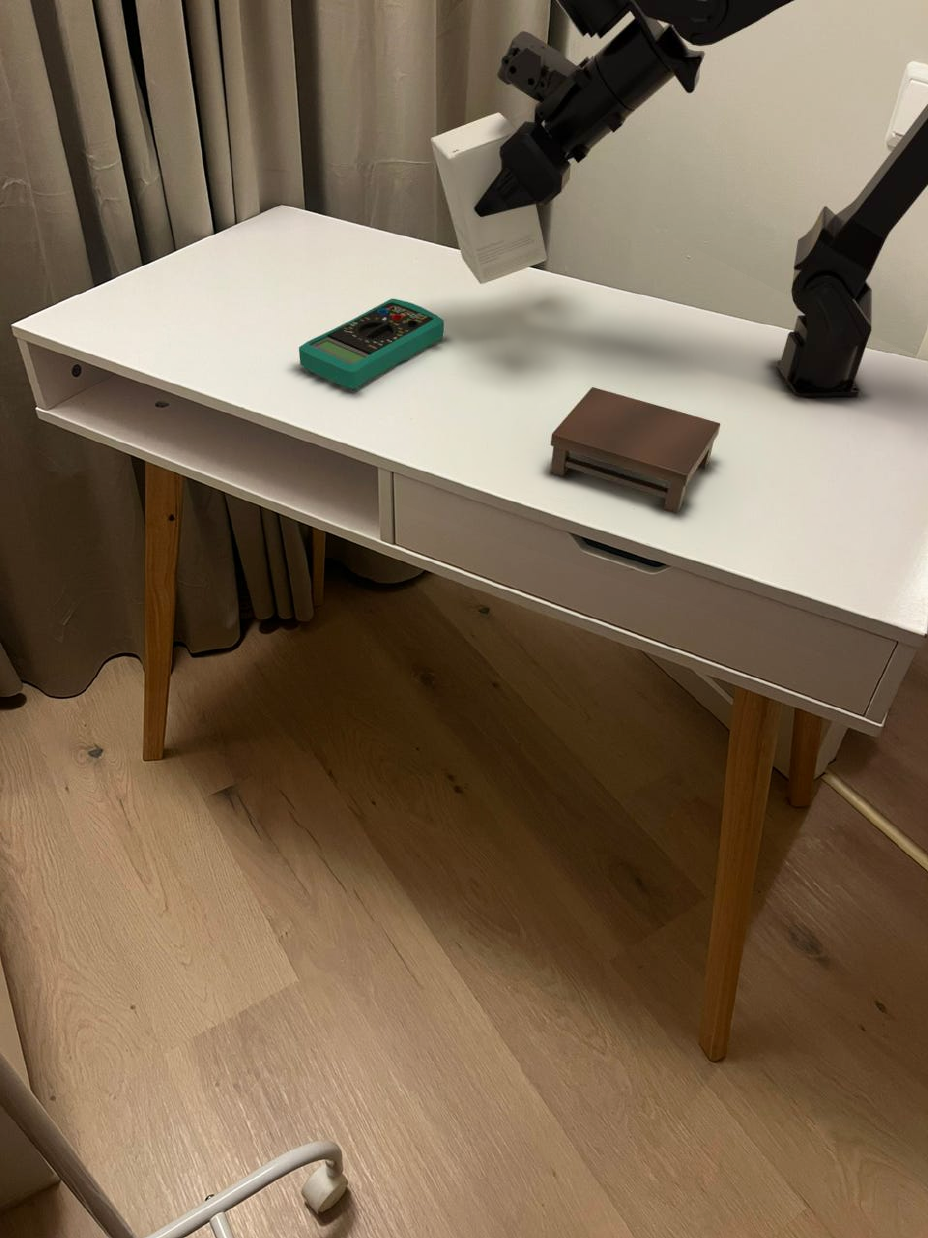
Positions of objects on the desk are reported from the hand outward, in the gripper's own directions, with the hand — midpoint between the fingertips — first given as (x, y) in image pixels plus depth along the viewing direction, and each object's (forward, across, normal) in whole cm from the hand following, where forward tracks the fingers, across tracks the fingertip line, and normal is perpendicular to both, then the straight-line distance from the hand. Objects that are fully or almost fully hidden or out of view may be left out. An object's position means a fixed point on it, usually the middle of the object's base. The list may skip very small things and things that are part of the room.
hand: (491, 195), depth 97 cm
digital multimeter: (+16, +10, +3) cm, 19 cm away
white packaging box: (+4, 0, +6) cm, 7 cm away
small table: (-4, +21, +23) cm, 32 cm away
